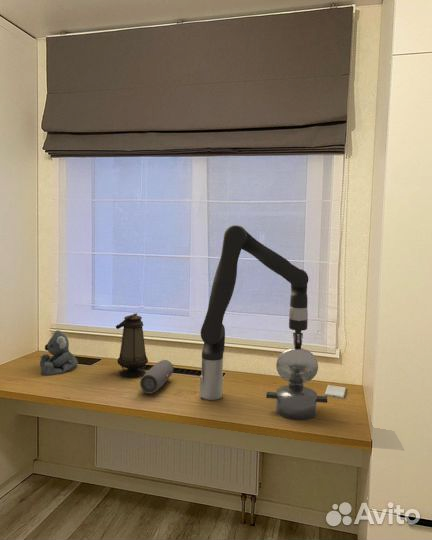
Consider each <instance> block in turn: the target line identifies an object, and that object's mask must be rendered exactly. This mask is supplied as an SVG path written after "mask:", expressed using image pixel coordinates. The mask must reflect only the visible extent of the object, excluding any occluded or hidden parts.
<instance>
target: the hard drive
mask: <svg viewBox="0 0 432 540" xmlns="http://www.w3.org/2000/svg"><path fill="white" fill-rule="evenodd" d="M346 390H347V387H345V386H338V385H332V384H331V385H330V384H328V385H327V387H326V390H325V392H324V396H327V398H335V399H342V400H344V398H345V394H346V392H347V391H346Z"/></svg>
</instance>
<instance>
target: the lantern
mask: <svg viewBox="0 0 432 540" xmlns="http://www.w3.org/2000/svg"><path fill="white" fill-rule="evenodd" d="M142 319H143V318H142V316H141V315H138V313H133V314H130V315H127V316H124V318H123V321H121V322H120V323H118V324H117V325H115V328H116V329H117V330H119V329H121V328H122V336H121V343H120V344H121V345H120V352H119V357H118V358H117V361H116V362H117V364H118V365H120V367H121V369H122V370H121V371H120V372H119V376H120V377H122V378H125V379H135V378H142V377H143V376H144V375H145V374H146V372H147V371H145V370H144V369H142V367H144V366H145V365H146V364H148V362H149V358H148V357H147V354H146V348H145V347H146V345H145V336H144V330H143V329H144V328H143V327H144V322H143V321H142Z"/></svg>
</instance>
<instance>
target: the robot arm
mask: <svg viewBox="0 0 432 540" xmlns="http://www.w3.org/2000/svg"><path fill="white" fill-rule="evenodd" d="M242 250H243V251H244V252H246V253H248V254H250V255H252V256H253V257H254V258H255V259H256V260H257V261H259V262H260V263H261V264H262V265H264V266H265V267H267V268H268V269H270V271H272V272H274V273H276V275H279V276H281V277H282V278H283V279H284V280H286V281H287V282H288V283H290V298H289V299H290V301H289V302H290V303H289V311H288V312H289V314H288V317H289V318H288V320H289V321H288V328H289V330H291V331H294V332H292V338H293V341H292V342H293V343H292V344H293V346H294V347H293V348H302V345H303V338H304V335H303V332H302V331H306V330H307V329H308V323H309V322H308V320H309V319H308V317H309V313H308V311H309V310H308V283H309V274H308V273H307V271H305V270H304V269H300V268H299V267H297V266H296V265H294V264H292V263H291V262H290V261H289V260H288V259H287V258H285V257H283V256H282V255H281V254H279V253H277V252H276V251H274V250H273V249H271V248H269V247H268V246H266V245H264V244H263V243H261V242H260V241H259V240H257V239H256V238H255V237H253V235H251V234H250V233H249V232H248V231H247V230H246V229H245V227H243V226H241V225H238V224H235V225H234V224H233V225H230V226H228V227H227V228H226V229H225V230H224V233H223V240H222V248H221V254H220V258H219V261H218V264H217V267H216V271H215V273H214V277H213V280H212V285H211V290H210V295H209V301H208V306H207V312H206V315H205V318H204V320H203V323H202V326H201V329H200V338H201V340H202V341H203V347H202V350H201V370H200V371H201V374H200V377H199V378H200V380H199V398H201V399H205V400H208V401H209V400H210V401H215V400H219V399H221V398H222V397H223V377H224V375H223V373H224V352H225V343H226V341H225V339H226V329H225V325H224V324H223V321H224V317H225V313H226V311H227V308H228V306H229V304H230V302H231V299H232V298H233V294H234V290H235V287H236V283H237V275H238V262H239V258H240V254H241V251H242Z"/></svg>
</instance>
